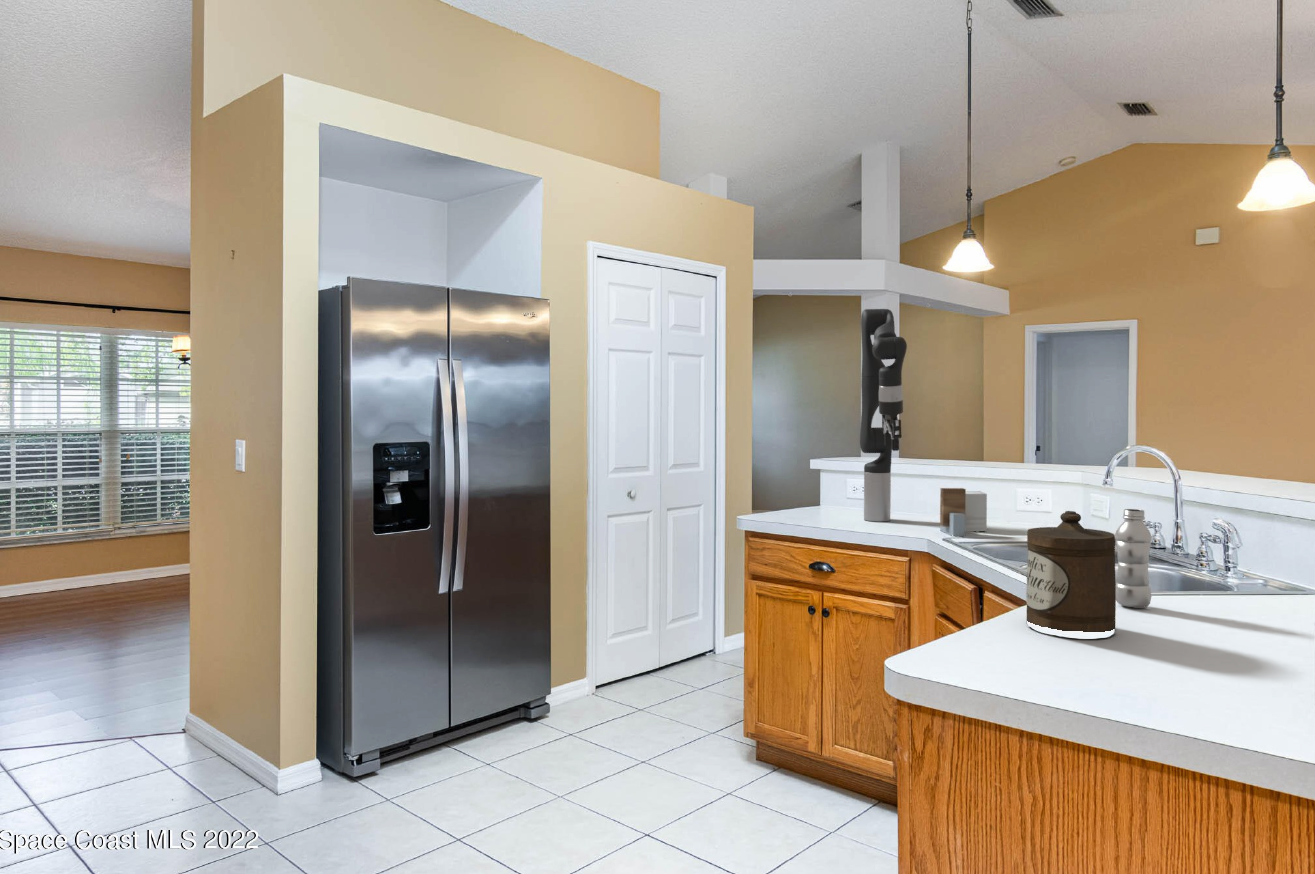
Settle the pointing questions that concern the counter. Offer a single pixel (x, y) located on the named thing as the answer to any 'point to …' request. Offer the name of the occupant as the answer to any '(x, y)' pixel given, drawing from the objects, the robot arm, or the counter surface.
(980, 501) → the supplement box
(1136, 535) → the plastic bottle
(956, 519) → the slotted base
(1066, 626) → the wooden container
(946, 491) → the walnut plate
